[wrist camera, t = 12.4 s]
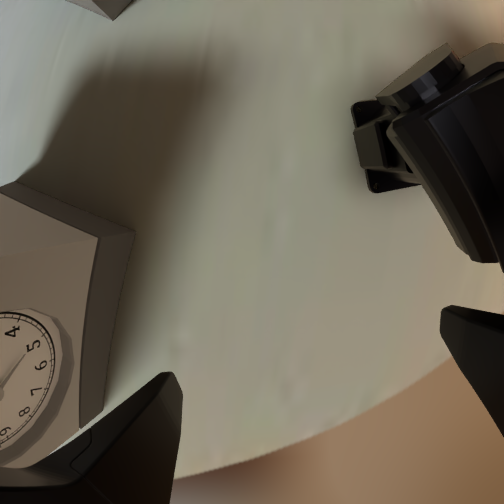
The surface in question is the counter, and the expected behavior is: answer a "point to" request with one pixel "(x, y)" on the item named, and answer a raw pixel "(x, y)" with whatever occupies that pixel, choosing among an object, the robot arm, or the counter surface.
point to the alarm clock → (54, 319)
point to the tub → (103, 6)
